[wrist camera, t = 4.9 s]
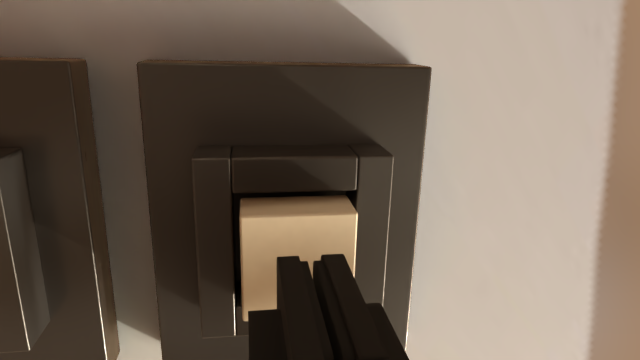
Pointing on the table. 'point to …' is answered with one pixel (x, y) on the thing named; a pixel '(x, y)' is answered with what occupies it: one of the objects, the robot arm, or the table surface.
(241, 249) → the key
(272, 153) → the block
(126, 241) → the table surface
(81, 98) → the block
